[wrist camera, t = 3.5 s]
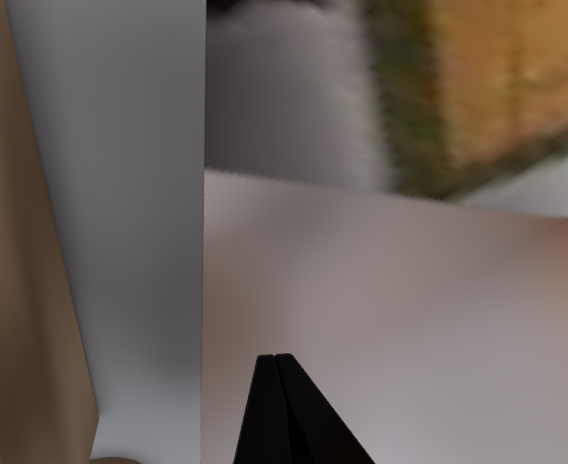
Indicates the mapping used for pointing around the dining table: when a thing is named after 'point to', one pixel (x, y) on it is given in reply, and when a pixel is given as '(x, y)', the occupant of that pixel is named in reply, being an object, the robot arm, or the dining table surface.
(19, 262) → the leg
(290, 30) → the dining table surface
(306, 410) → the robot arm
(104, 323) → the grey peg board
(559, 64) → the dining table surface
